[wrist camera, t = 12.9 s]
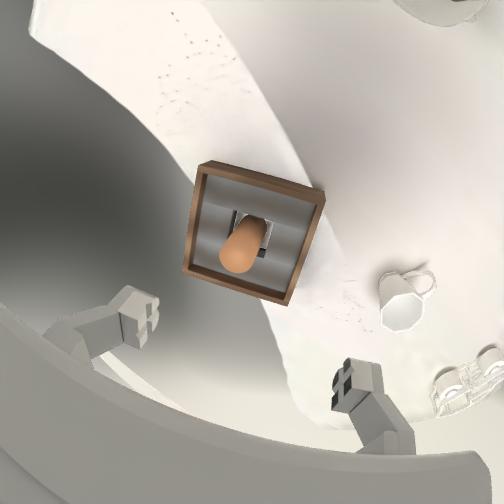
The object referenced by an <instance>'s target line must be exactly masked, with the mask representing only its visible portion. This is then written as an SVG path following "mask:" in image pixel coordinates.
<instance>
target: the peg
mask: <svg viewBox="0 0 504 504" xmlns="http://www.w3.org/2000/svg"><path fill="white" fill-rule="evenodd" d="M266 232H267V224H266V221H265V220H264V219H263V218H259V217H256V216H253V215H246V216H245V217H244V218H243V219H242V220H241V221H240V223H239V224H238V225H237V227H236V228H235V230H234V231H233V232H232V234H231V235H230V237H229V238H228V239H227V241H226V242H225V243H224V245H223V246H222V248H221V249H220V252H219V258H220V262H221V264H222V265H223V266H224V267H225V268H226V269H227V270H228V271H230V272H233V273H244V272H246V271H248V270H249V269H250V268H251V267H252V265H253V262H254V260H255V258H256V255H257V253H258V251H259V248H260V246H261V244H262V241H263V239H264V237H265V234H266Z"/></svg>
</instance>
